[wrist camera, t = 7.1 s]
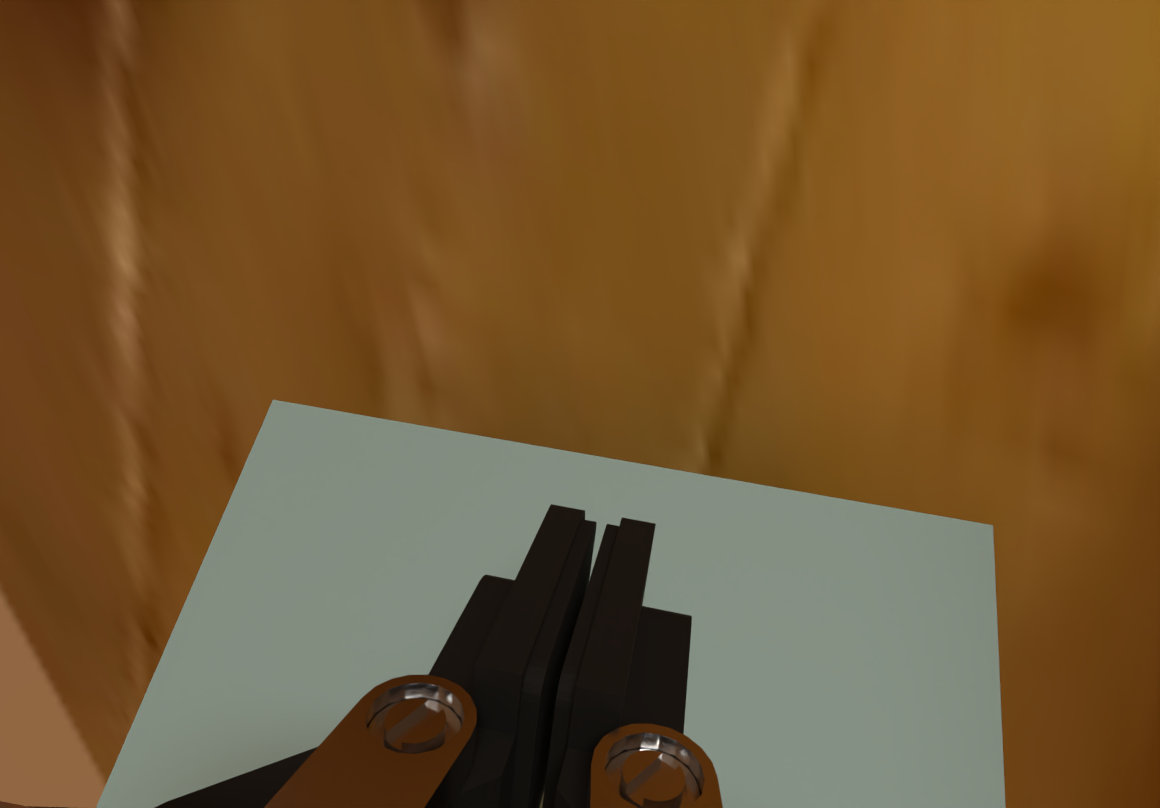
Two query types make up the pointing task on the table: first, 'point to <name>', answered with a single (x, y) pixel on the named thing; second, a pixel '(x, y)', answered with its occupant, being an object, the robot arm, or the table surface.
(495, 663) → the robot arm
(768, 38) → the table surface
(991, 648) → the flap
